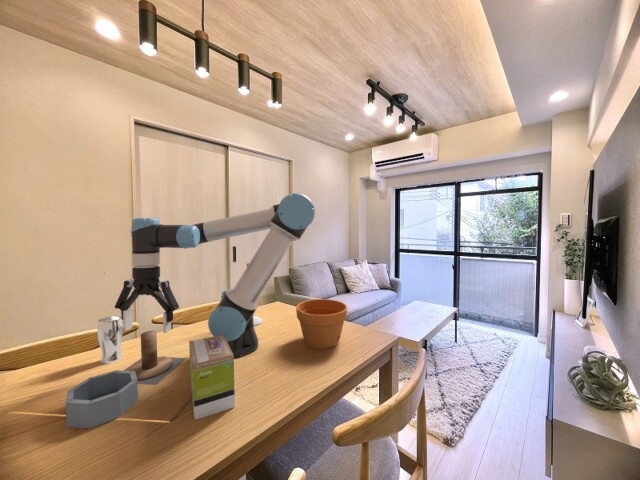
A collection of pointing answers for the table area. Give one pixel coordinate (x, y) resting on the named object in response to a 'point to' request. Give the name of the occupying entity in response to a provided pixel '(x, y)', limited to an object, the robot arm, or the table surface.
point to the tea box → (211, 376)
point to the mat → (157, 379)
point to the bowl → (101, 399)
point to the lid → (150, 359)
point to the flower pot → (321, 321)
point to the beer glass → (110, 338)
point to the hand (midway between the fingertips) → (147, 330)
